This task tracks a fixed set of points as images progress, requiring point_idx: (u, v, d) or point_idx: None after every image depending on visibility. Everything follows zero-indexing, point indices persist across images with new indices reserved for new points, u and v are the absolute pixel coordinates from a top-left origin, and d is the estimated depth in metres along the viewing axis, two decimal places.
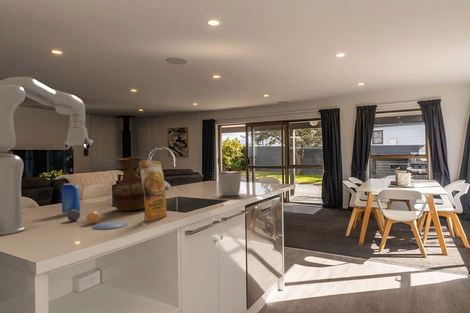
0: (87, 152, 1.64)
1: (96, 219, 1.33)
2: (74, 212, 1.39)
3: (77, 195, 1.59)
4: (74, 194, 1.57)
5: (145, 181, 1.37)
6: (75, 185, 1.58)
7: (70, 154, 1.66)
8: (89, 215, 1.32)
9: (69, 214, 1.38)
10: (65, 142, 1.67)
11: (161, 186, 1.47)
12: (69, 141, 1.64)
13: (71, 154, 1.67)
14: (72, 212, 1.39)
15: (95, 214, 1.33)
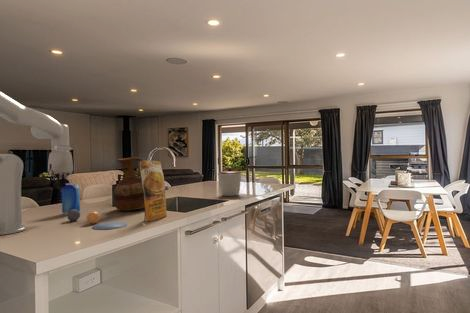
0: (58, 183, 1.44)
1: (96, 219, 1.33)
2: (74, 212, 1.39)
3: (77, 195, 1.59)
4: (74, 194, 1.57)
5: (145, 181, 1.37)
6: (75, 185, 1.58)
7: None
8: (89, 215, 1.32)
9: (69, 214, 1.38)
10: None
11: (161, 186, 1.47)
12: None
13: None
14: (72, 212, 1.39)
15: (95, 214, 1.33)
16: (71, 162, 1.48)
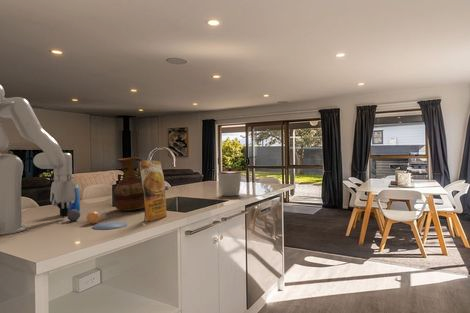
0: (60, 212, 1.43)
1: (96, 219, 1.33)
2: (74, 212, 1.39)
3: (77, 195, 1.59)
4: None
5: (145, 181, 1.37)
6: (75, 185, 1.58)
7: None
8: (89, 215, 1.32)
9: (69, 214, 1.38)
10: None
11: (161, 186, 1.47)
12: None
13: None
14: (72, 212, 1.39)
15: (95, 214, 1.33)
16: (73, 191, 1.47)
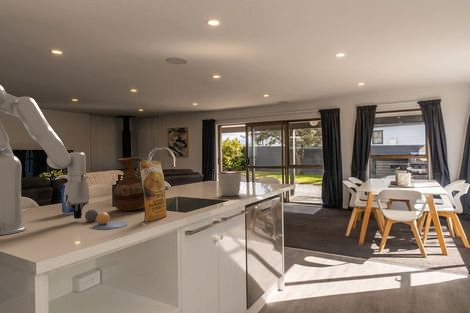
0: (74, 214, 1.38)
1: None
2: None
3: None
4: None
5: (145, 181, 1.37)
6: None
7: None
8: (99, 222, 1.29)
9: (86, 215, 1.36)
10: None
11: (161, 186, 1.47)
12: None
13: None
14: (85, 217, 1.37)
15: None
16: (87, 191, 1.42)
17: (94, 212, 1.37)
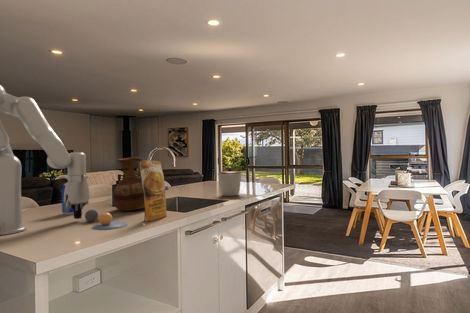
0: (74, 214, 1.38)
1: None
2: None
3: None
4: None
5: (145, 181, 1.37)
6: None
7: None
8: (100, 223, 1.28)
9: (86, 215, 1.36)
10: None
11: (161, 186, 1.47)
12: None
13: None
14: (85, 217, 1.37)
15: None
16: (87, 191, 1.42)
17: (94, 212, 1.37)
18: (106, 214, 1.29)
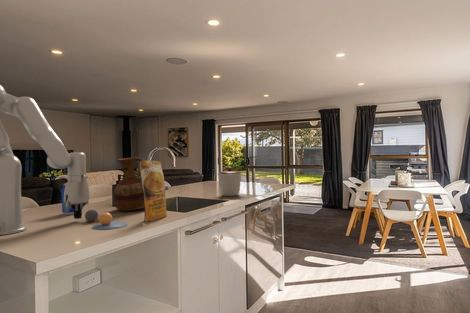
0: (74, 214, 1.38)
1: None
2: None
3: None
4: None
5: (145, 181, 1.37)
6: None
7: None
8: (100, 223, 1.28)
9: (86, 215, 1.36)
10: None
11: (161, 186, 1.47)
12: None
13: None
14: (85, 217, 1.37)
15: None
16: (87, 191, 1.42)
17: (94, 212, 1.37)
18: (106, 214, 1.29)
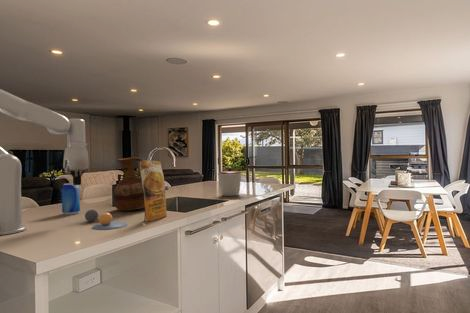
0: (74, 180, 1.38)
1: None
2: None
3: (77, 195, 1.59)
4: (74, 194, 1.57)
5: (145, 181, 1.37)
6: (75, 185, 1.58)
7: None
8: (100, 223, 1.28)
9: (86, 215, 1.36)
10: None
11: (161, 186, 1.47)
12: None
13: None
14: (85, 217, 1.37)
15: None
16: (87, 159, 1.42)
17: (94, 212, 1.37)
18: (106, 214, 1.29)
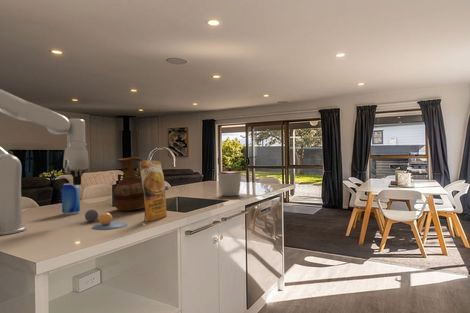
0: (74, 180, 1.38)
1: None
2: None
3: (77, 195, 1.59)
4: (74, 194, 1.57)
5: (145, 181, 1.37)
6: (75, 185, 1.58)
7: None
8: (100, 223, 1.28)
9: (86, 215, 1.36)
10: None
11: (161, 186, 1.47)
12: None
13: None
14: (85, 217, 1.37)
15: None
16: (87, 159, 1.42)
17: (94, 212, 1.37)
18: (106, 214, 1.29)
